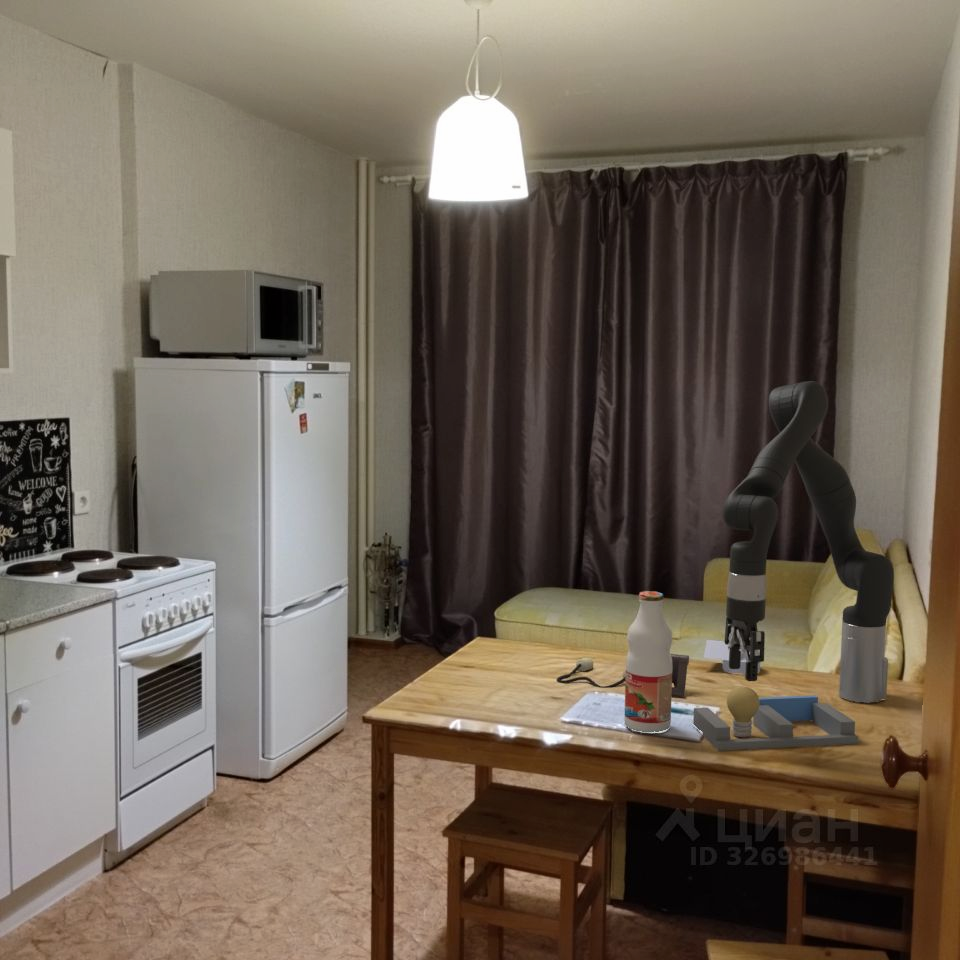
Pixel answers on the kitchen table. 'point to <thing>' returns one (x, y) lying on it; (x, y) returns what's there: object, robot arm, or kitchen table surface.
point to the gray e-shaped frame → (781, 724)
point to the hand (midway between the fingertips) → (742, 674)
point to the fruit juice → (649, 668)
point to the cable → (586, 665)
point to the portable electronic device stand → (679, 674)
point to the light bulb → (742, 709)
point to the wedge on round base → (724, 656)
